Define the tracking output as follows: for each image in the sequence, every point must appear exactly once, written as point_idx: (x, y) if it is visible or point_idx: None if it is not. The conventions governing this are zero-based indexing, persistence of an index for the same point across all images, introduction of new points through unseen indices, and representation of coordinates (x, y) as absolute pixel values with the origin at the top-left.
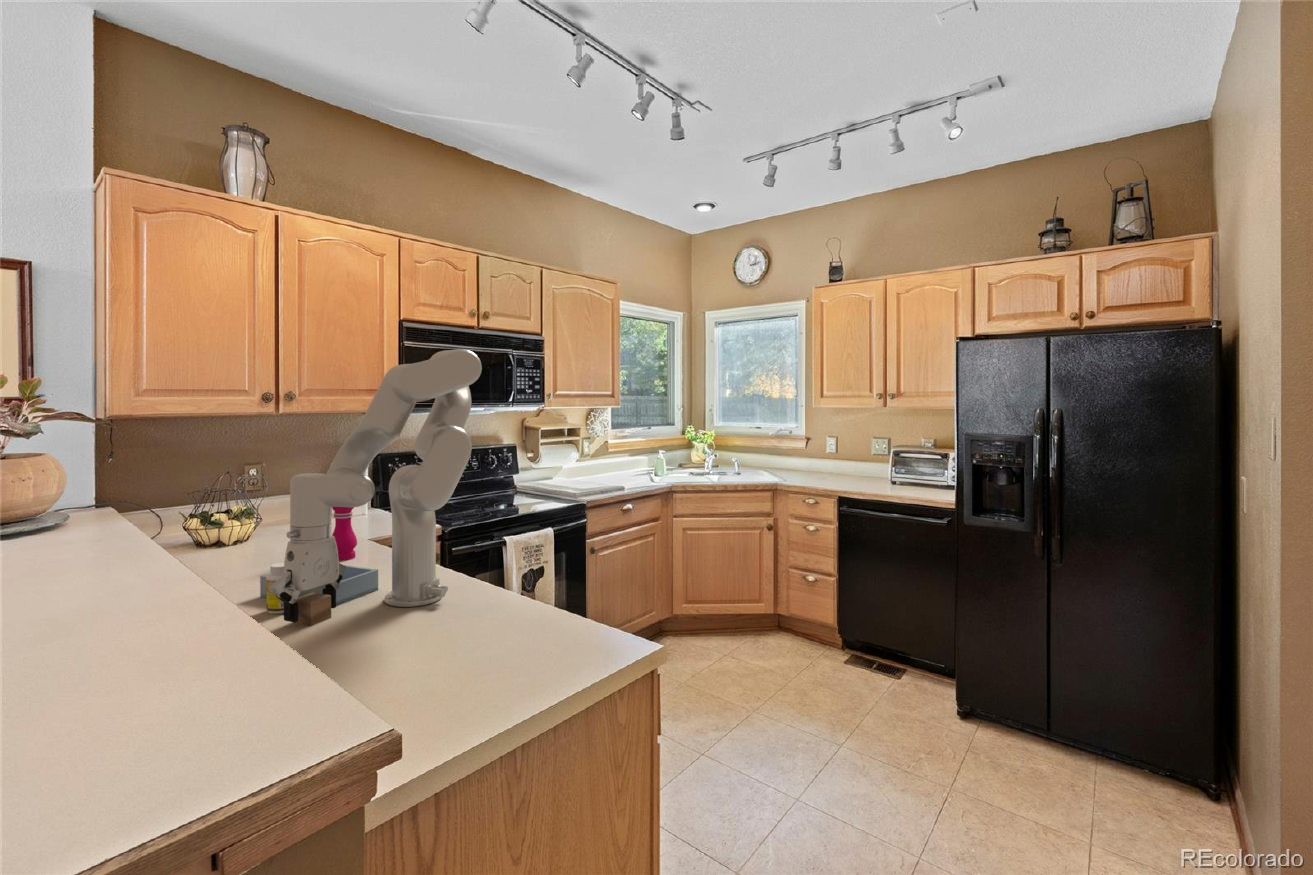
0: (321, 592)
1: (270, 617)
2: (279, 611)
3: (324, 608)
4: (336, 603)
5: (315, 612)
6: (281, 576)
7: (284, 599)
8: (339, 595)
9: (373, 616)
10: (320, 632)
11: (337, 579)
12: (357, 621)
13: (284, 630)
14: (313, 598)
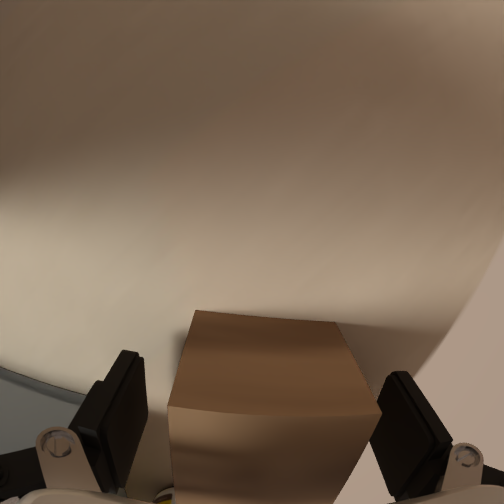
0: None
1: None
2: None
3: (244, 356)
4: (57, 394)
5: (320, 358)
6: None
7: (497, 470)
8: (28, 409)
9: (101, 84)
10: (410, 202)
11: (21, 480)
12: (200, 109)
13: None
14: (287, 457)
